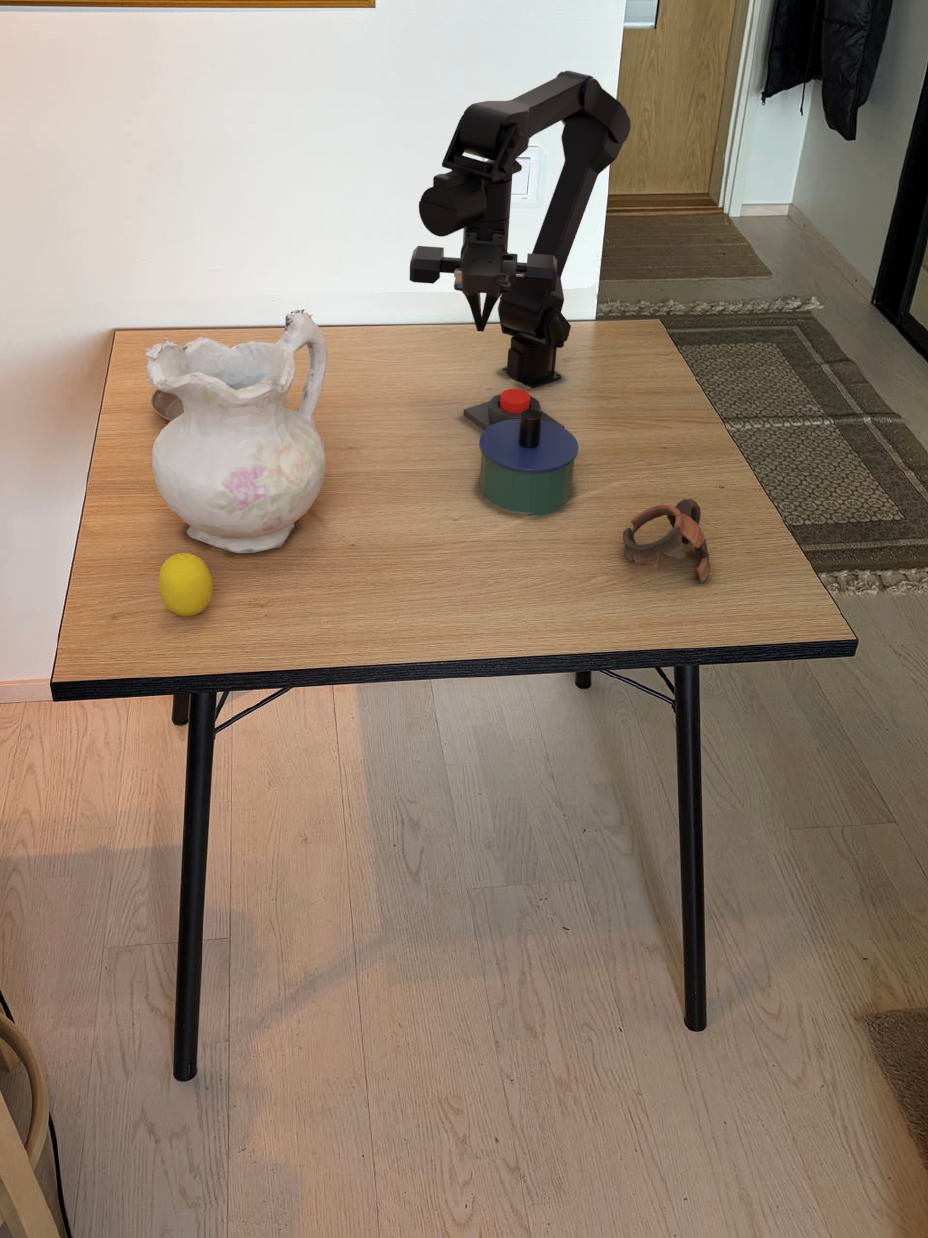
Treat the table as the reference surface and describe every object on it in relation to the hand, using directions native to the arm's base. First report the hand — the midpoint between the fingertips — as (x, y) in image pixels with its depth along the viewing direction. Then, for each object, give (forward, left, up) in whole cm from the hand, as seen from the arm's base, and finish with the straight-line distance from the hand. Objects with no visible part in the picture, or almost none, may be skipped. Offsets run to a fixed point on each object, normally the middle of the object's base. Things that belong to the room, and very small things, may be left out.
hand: (480, 330), depth 155 cm
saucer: (+32, -18, -12) cm, 39 cm away
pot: (+7, +20, -12) cm, 24 cm away
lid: (+7, +20, -6) cm, 22 cm away
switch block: (-2, +6, -12) cm, 14 cm away
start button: (-2, +6, -9) cm, 11 cm away
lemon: (+53, +20, -12) cm, 58 cm away
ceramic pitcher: (+39, +8, -12) cm, 42 cm away
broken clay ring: (+2, +41, -12) cm, 43 cm away
